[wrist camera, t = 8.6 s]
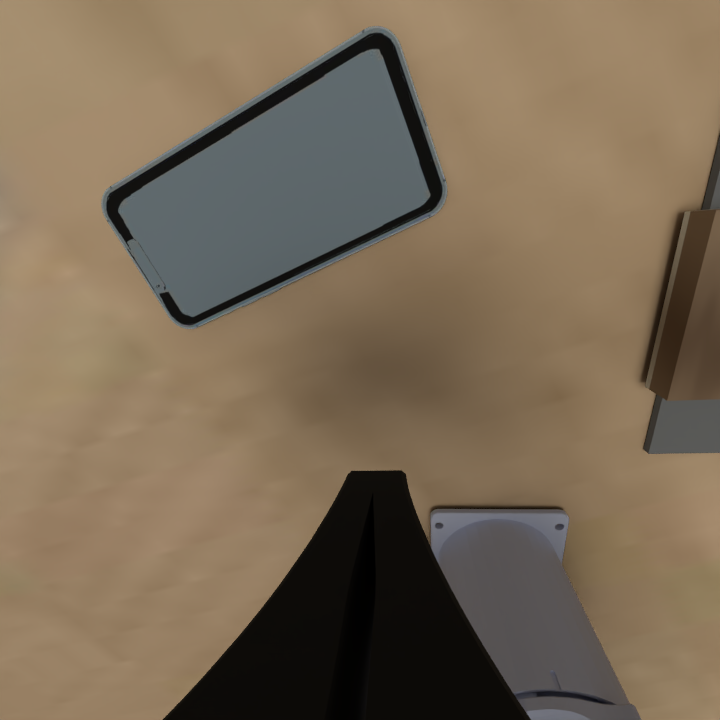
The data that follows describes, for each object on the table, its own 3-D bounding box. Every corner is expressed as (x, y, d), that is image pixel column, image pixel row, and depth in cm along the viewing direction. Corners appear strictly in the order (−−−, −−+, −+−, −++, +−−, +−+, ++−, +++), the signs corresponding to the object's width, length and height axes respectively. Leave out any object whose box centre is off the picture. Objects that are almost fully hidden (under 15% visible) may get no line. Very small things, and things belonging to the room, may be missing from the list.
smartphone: (454, 207, 15) (181, 336, 18) (450, 208, 16) (190, 331, 19) (389, 11, 13) (91, 196, 16) (389, 25, 14) (106, 198, 17)
